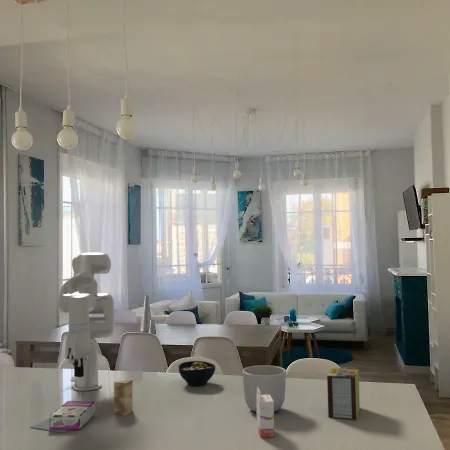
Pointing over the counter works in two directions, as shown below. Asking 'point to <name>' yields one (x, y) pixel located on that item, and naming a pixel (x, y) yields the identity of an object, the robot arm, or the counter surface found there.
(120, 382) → the oak block
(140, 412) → the counter surface
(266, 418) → the ink cartridge box
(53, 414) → the candy bar box
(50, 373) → the counter surface
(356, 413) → the protein box
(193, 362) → the bowl
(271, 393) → the planter
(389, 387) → the counter surface
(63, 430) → the mat
